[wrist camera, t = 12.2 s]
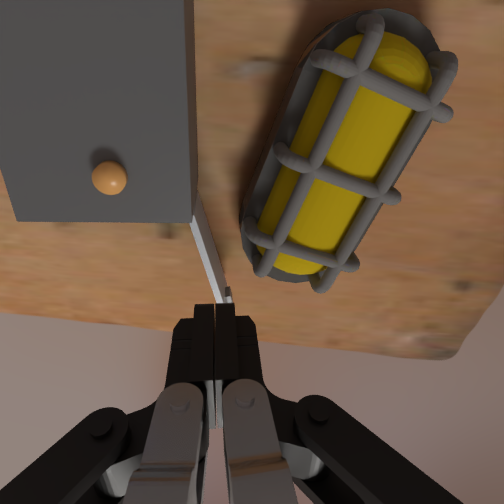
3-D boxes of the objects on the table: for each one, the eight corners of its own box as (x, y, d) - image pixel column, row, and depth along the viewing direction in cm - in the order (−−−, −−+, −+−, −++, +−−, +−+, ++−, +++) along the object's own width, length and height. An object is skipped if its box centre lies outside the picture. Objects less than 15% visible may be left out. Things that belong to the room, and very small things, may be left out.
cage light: (508, 49, 29) (338, 316, 42) (452, 49, 36) (321, 278, 49) (358, -35, 25) (224, 286, 39) (328, -18, 32) (222, 250, 46)
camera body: (-9, -35, 29) (-146, -85, 18) (192, -20, 31) (179, -56, 20) (44, 174, 38) (-26, 226, 27) (198, 177, 40) (191, 228, 29)
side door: (221, 285, 47) (222, 320, 41) (189, 184, 39) (184, 209, 33) (231, 282, 47) (233, 317, 41) (200, 181, 39) (197, 206, 33)
